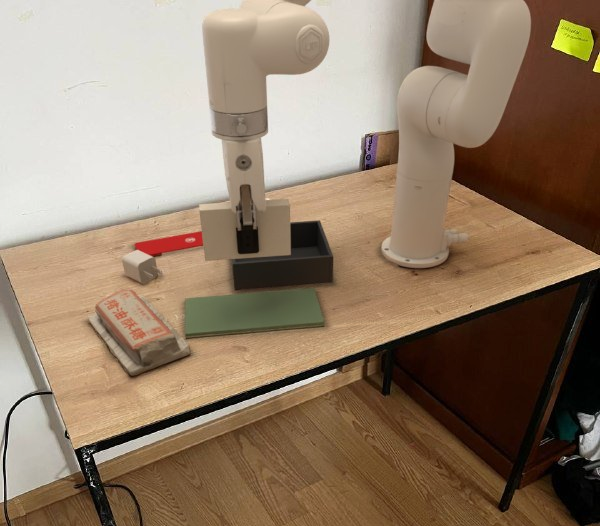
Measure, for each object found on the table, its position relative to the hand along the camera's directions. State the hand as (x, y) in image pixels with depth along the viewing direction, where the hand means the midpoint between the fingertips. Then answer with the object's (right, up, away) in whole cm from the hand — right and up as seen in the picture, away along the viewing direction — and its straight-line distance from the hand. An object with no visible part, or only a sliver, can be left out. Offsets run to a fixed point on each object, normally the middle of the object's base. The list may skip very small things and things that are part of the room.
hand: (247, 247), depth 93 cm
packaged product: (-18, -14, +4) cm, 22 cm away
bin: (+4, +1, +20) cm, 20 cm away
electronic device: (-16, +7, +27) cm, 32 cm away
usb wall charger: (-20, -2, +17) cm, 26 cm away
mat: (0, -9, +8) cm, 12 cm away
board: (0, -1, +1) cm, 1 cm away
